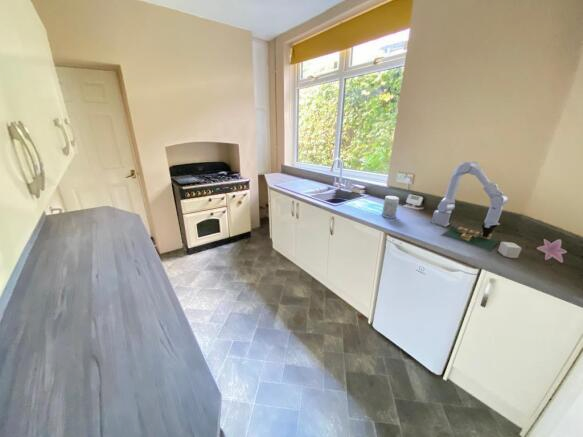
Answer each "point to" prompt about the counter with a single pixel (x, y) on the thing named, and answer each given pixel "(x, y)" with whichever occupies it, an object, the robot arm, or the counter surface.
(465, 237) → the letter o
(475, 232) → the letter t
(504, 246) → the white cube
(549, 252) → the lily
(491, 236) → the letter s
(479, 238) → the word mat
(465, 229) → the letter i
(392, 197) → the supplement tub
